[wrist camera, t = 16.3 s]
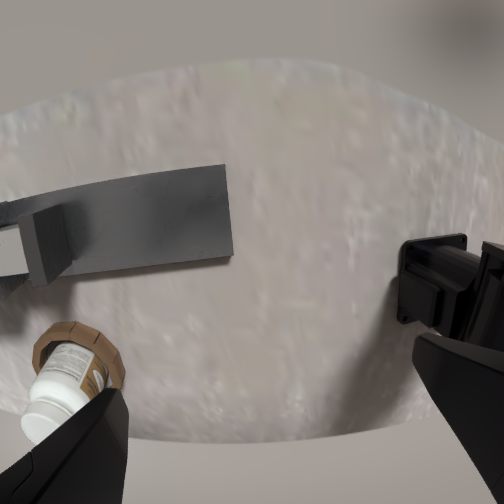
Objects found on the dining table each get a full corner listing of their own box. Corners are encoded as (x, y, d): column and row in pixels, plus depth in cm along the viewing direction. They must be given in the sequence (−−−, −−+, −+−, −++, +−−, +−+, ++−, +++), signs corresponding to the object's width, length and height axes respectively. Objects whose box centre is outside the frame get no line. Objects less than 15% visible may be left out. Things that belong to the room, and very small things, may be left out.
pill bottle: (107, 393, 21) (84, 469, 14) (55, 376, 20) (19, 444, 13) (111, 347, 20) (81, 424, 13) (55, 329, 19) (8, 396, 12)
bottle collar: (109, 318, 19) (103, 329, 18) (134, 397, 21) (131, 410, 20) (28, 324, 19) (19, 333, 17) (59, 397, 21) (53, 409, 19)
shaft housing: (223, 162, 18) (230, 161, 13) (232, 253, 20) (242, 280, 15) (-69, 224, 15) (-107, 238, 11) (-54, 288, 17) (-88, 311, 12)
